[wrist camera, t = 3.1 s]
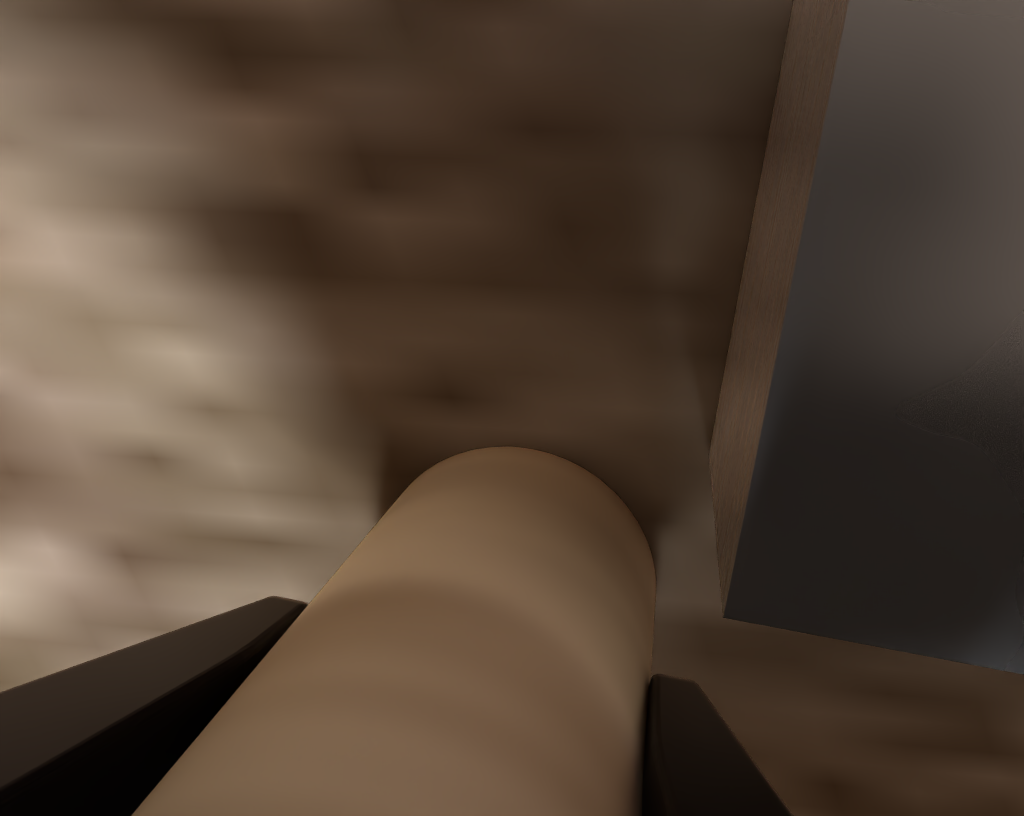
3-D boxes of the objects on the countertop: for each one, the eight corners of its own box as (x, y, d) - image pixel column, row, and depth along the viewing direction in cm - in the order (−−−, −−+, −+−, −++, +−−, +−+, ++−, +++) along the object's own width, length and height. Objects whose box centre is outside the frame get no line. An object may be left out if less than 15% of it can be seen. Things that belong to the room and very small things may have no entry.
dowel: (633, 729, 11) (550, 1654, 4) (370, 673, 11) (-82, 1414, 5) (678, 473, 10) (666, 1146, 3) (386, 425, 10) (-158, 913, 4)
